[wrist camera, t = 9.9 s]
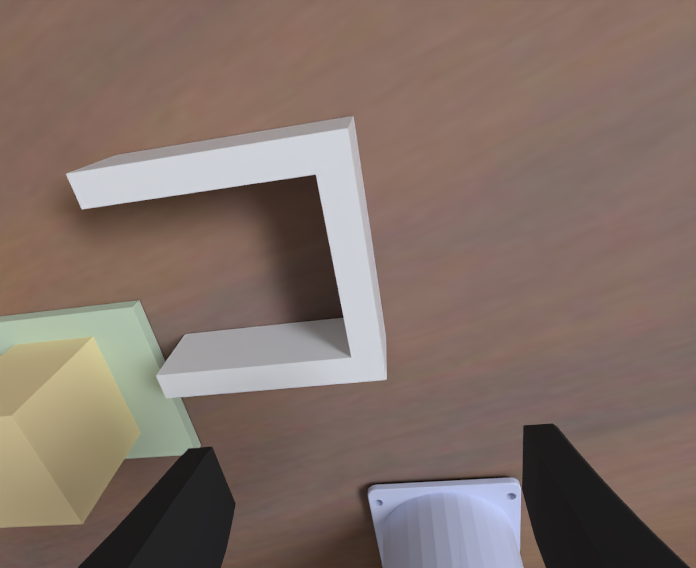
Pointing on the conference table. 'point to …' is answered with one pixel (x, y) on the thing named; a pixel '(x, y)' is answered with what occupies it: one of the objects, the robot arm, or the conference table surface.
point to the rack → (344, 239)
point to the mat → (117, 366)
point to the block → (58, 432)
